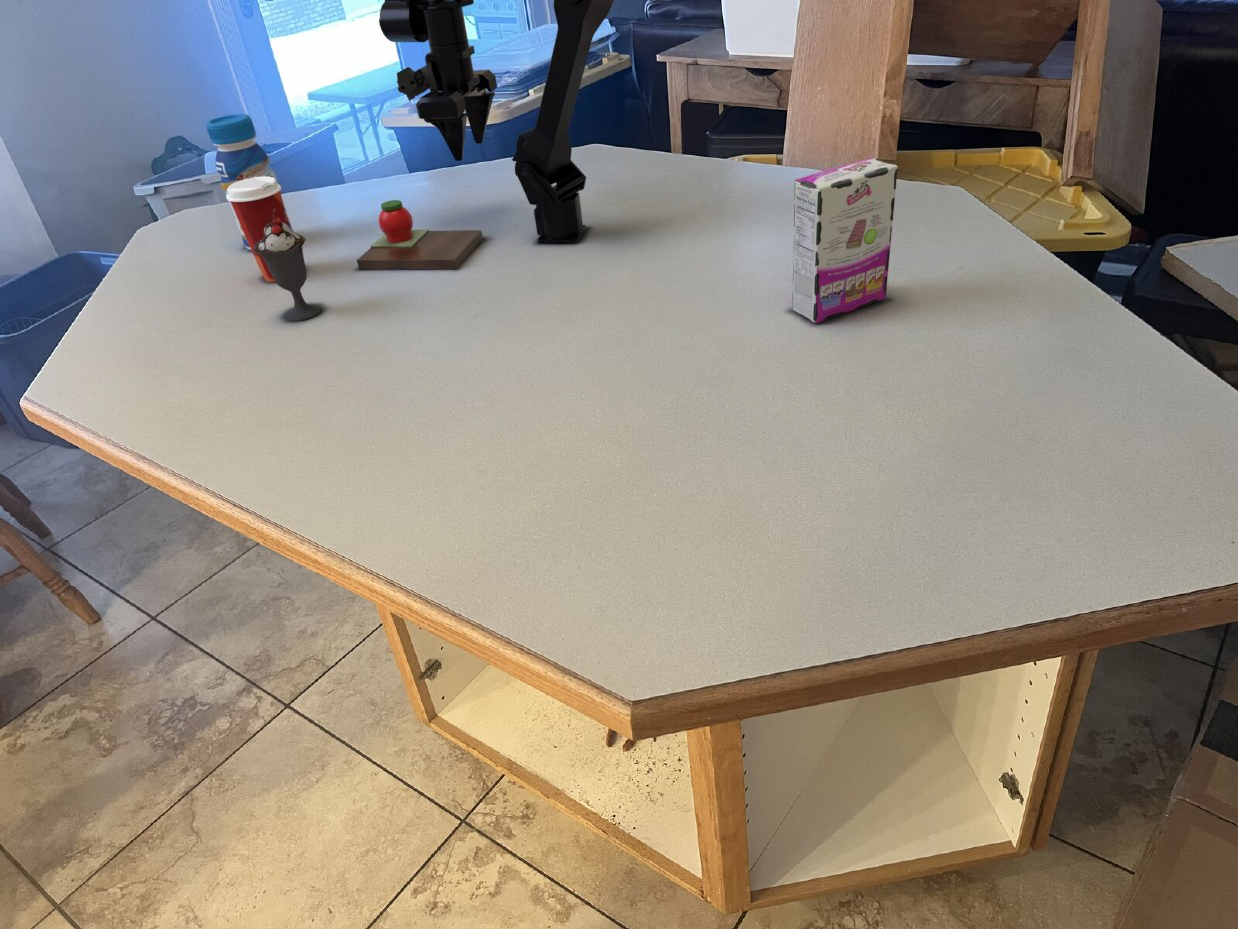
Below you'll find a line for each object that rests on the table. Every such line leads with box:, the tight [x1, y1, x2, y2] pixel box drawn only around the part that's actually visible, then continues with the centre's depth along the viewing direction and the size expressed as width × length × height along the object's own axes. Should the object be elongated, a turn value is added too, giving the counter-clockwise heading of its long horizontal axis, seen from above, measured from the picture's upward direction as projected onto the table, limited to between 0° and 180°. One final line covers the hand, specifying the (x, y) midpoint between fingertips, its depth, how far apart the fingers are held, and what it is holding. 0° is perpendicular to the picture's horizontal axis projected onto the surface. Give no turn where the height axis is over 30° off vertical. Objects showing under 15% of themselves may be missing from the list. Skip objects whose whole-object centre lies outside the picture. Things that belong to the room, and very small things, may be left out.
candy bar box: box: [791, 157, 899, 324], centre depth 97 cm, size 11×5×16 cm, turn 117°
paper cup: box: [226, 176, 290, 283], centre depth 123 cm, size 8×8×14 cm
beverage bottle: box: [205, 113, 294, 251], centre depth 133 cm, size 8×8×20 cm
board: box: [356, 229, 484, 270], centre depth 128 cm, size 16×12×2 cm
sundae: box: [253, 209, 322, 322], centre depth 110 cm, size 7×7×15 cm
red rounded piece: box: [378, 199, 414, 242], centre depth 129 cm, size 5×5×6 cm
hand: (469, 151), depth 130 cm, fingers open, 9 cm apart
